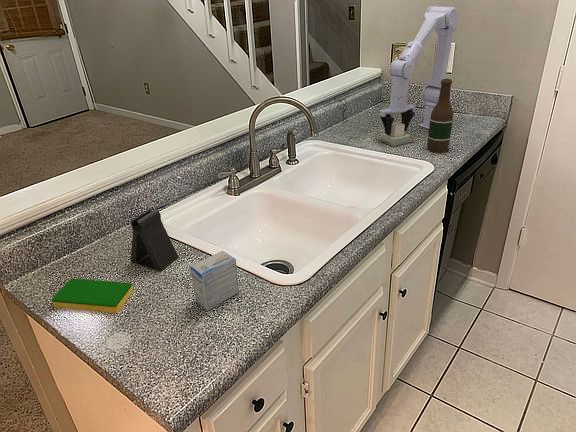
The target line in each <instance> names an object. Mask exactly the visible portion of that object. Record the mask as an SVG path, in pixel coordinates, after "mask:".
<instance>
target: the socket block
mask: <svg viewBox="0 0 576 432" xmlns="http://www.w3.org/2000/svg"><path fill="white" fill-rule="evenodd" d="M375 140H376V141H378V142H381V143H383V144H386V145H388V146H390V147H392V148H395V147H399V146H404V145H407V144H412V143H415V142H416V140H414V139H412V138H411V134H409V133H405V132H404V136H401V137H397V138H394V137H391V136H389V135H387V134H385V132H382V133H380V137H377V138H375Z"/></svg>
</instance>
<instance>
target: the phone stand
mask: <svg viewBox="0 0 576 432" xmlns="http://www.w3.org/2000/svg"><path fill="white" fill-rule="evenodd" d="M130 226H131V229H132V238H131V249H130V250H131V252H130V263H131V264H134V265H138V266H141V267H144V268H145V267H146V268H147V269H150V270H154V271H157V272H160V273H161V272H162V271H163V270H164V269H166V268H167V267H169V266H170V265H171V264H172V263H174V262H175V261H176V260H177V259H179V255H178V253H177V251H176V248H175V246H174V245H173V242H172V240H171V238H170V237H169V234H168V232H167V230H166V228H165V225H164V223H163V221H162V217H161V213H160V211H159V209H157V208H155V209H154V208H153V207H152V208H150V209H148V210H147V211H145V212H143V213H142V214H141V215H139V216H137V217H136V218H134V219H133V220H131V222H130Z"/></svg>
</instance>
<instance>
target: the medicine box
mask: <svg viewBox="0 0 576 432" xmlns="http://www.w3.org/2000/svg"><path fill="white" fill-rule="evenodd" d="M189 269H190V274H191V275H190V276H191V281H192V287H193V292H194V297H195V298H194V299H195V301H196V302H197V303H198V304H199V305H200V306H201V307H202V308H204V310H206V311H210V310H212V309H213V308H216V307H217V306H218V305H220V304H222V303H223V301H224V302H225V301H227V300H229V299H230V298H232V297H234V296H235V294H236V295H238V294H239V293H240V287H239V286H240V285H239V277H238V276H239V275H238V266H237V259H236V257H235V258H234V257H233V256H232V255H231V254H229V253H228V252H226V251H224V250H221V251H218V252H217V253H214V254H213V255H210V256H208V257H207V258H205V259H203V260H200V261H199V262H196V263H194V264H192V265H190V266H189ZM233 295H234V296H233ZM228 298H229V299H228Z"/></svg>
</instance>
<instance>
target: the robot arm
mask: <svg viewBox="0 0 576 432" xmlns="http://www.w3.org/2000/svg"><path fill="white" fill-rule="evenodd" d="M458 18H459V11H458V10H457V7H455V6H433V5H429V6H428V8H427V9H426V10H425V13H424V14H423V24H422V25H421V27H420V29H419V31H418V32H417V33H416V36H415V38H413V39H414V40H412V41H409V42H407V44H406V45H405V47H404V49H403V50H402V51H401V53H400V55H399V57H398V58H397V59H395V60H393V61H392V62H391V64H390V65H389V68H388V73H389V76H390V81H391V85H390V86H391V87H390V102H389V103H390V104H389V106H388V107H386V108H383V109H381V110H379V118H380V119H381V122H382V124H383V128H384V133H385V134H387V135H390V134H391V127H392V123H394V120H395V117H392V115H396V114H400V116H401V117H400V118H401V123H402V124H405V128H404V132H407V131H408V128H409V126H410V123H411V121H412V119H413V118H414V117H415V115H416V112H415V111H416V104H411V103H410V104H408V103H407V102H408V93H409V82H410V78H411V76H412V75H413V73H414V69H415V67H416V62H417V61H418V59H419V58H420V56H421V54H423V51H424V48H423V46H424V45H425V44H426V41H427V40H429V38H430V36H432V34H433V33H434V31H435V32H436V34H437V39H436V45H435V46H436V47H435V52H434V58H433V60H434V61H433V64H432V72H431V78H430V79H428V80H427V81H426V82H425V83H424V87H423V90H422V91H421V99H422V101H423V104H425V106H424V107H425V108H424V115H423V122H422V123H418V126H420V127H422V128H424V129H428V130H429V125H430V118H431V113H432V111H433V108H434V107H435V106H436V104H437V103H438V100H439V94H440V89H441V80H442V79H447V73H448V72H447V71H448V67H449V62H450V57H451V56H450V55H451V50H452V45H453V43H452V42H453V37H454V33H455V32H456V29H457V26H458V25H457V24H458ZM451 98H452V89H451V90H450V100H451Z"/></svg>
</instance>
